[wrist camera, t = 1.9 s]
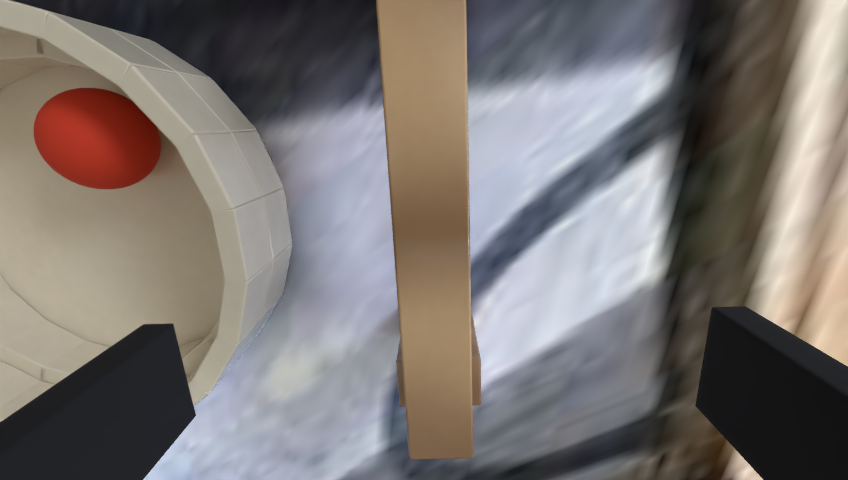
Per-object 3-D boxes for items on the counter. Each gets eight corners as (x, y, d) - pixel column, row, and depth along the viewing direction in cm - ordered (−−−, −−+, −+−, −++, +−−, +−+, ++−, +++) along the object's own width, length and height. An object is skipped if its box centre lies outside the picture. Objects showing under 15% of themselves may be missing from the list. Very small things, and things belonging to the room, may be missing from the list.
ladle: (318, -240, 13) (191, -631, 6) (512, -257, 13) (600, -685, 6) (373, 340, 19) (338, 461, 13) (505, 336, 19) (544, 458, 12)
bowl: (-115, 39, 16) (-349, 4, 11) (265, 15, 15) (189, -32, 11) (16, 372, 21) (-111, 449, 16) (315, 365, 20) (278, 442, 15)
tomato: (82, 93, 16) (-17, 86, 12) (170, 88, 16) (95, 80, 12) (106, 183, 17) (23, 200, 13) (189, 180, 17) (125, 195, 13)
